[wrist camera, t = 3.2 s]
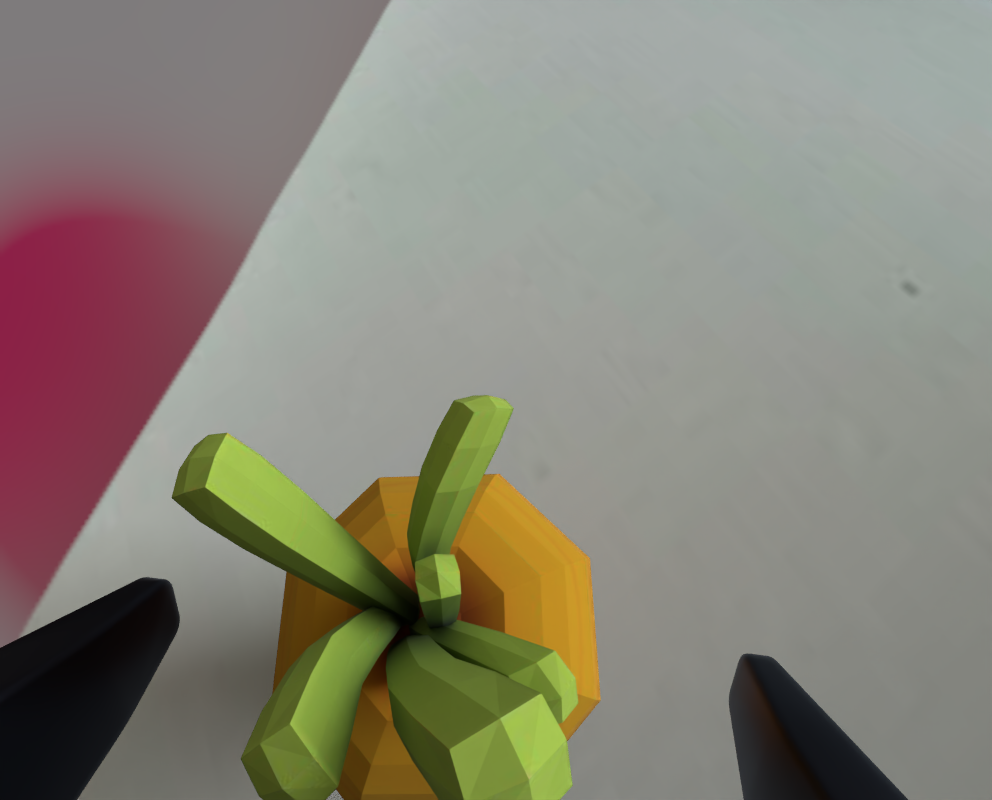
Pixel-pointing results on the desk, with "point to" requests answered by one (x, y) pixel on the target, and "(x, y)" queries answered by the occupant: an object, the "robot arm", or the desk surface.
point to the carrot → (412, 625)
